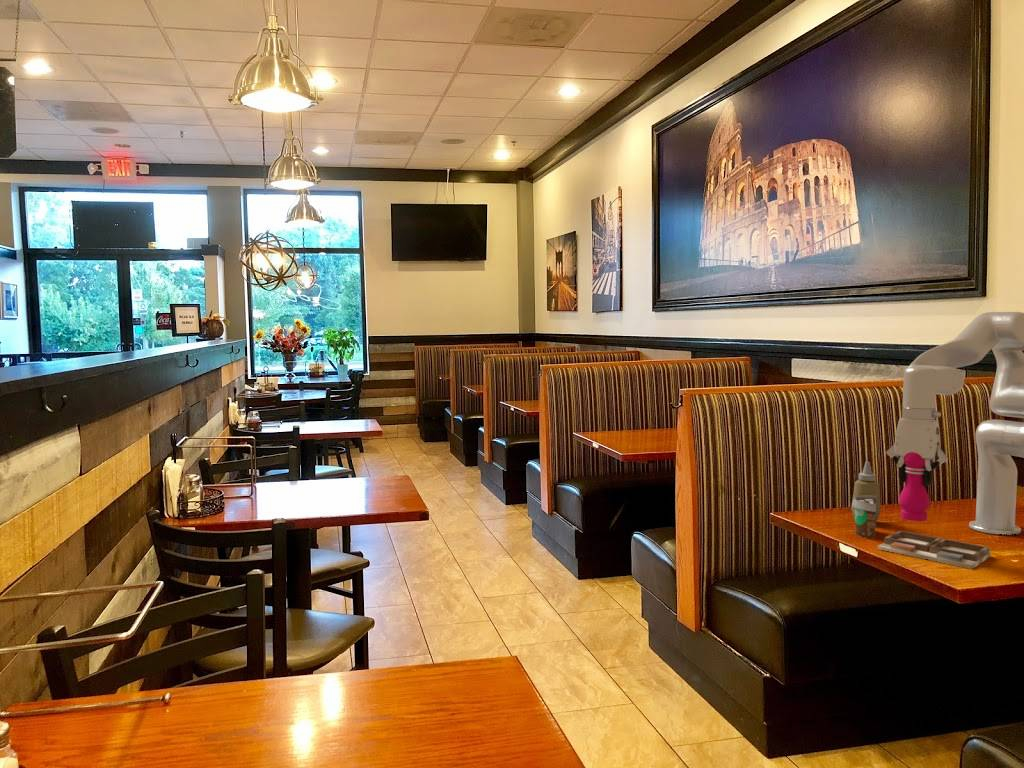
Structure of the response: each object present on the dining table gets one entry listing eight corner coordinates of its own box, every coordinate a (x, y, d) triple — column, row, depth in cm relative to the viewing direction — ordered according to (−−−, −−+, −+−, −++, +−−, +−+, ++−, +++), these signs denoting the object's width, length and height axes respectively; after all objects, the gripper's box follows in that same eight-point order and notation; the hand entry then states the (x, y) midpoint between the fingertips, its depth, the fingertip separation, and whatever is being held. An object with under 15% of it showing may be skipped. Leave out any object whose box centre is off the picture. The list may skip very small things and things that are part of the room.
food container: (852, 527, 223) (853, 493, 223) (875, 529, 221) (876, 495, 220) (850, 537, 212) (851, 502, 212) (874, 540, 210) (876, 504, 209)
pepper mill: (933, 522, 198) (936, 445, 197) (902, 520, 200) (906, 444, 198) (924, 515, 205) (927, 441, 204) (894, 514, 207) (898, 440, 205)
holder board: (899, 538, 211) (899, 529, 211) (990, 556, 195) (991, 546, 195) (877, 549, 201) (877, 540, 201) (971, 569, 185) (972, 558, 185)
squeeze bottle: (886, 522, 229) (888, 462, 227) (870, 526, 224) (873, 465, 223) (860, 517, 235) (862, 458, 234) (845, 520, 231) (847, 461, 229)
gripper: (959, 416, 197) (955, 486, 198) (889, 410, 209) (886, 477, 211) (949, 418, 192) (945, 490, 193) (878, 412, 204) (875, 480, 206)
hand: (915, 482), depth 202 cm, fingers closed on pepper mill, 5 cm apart
